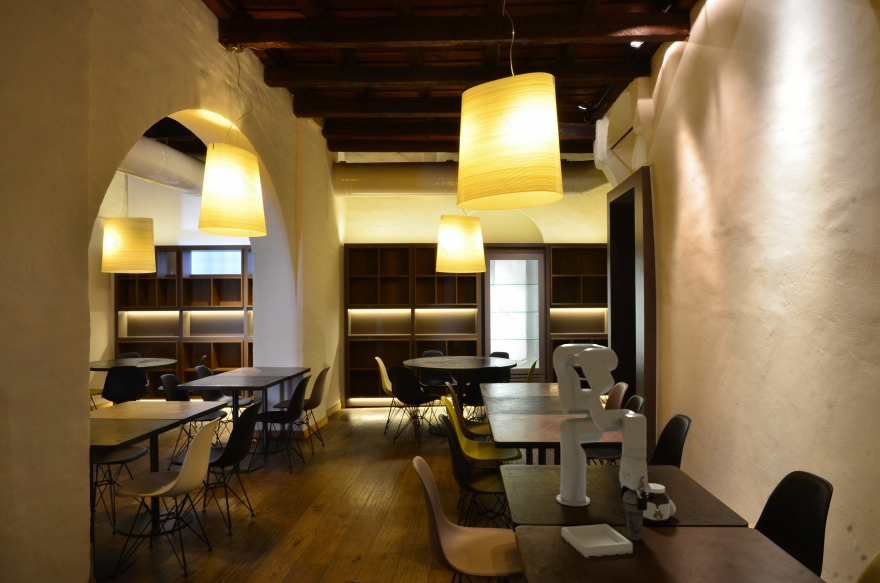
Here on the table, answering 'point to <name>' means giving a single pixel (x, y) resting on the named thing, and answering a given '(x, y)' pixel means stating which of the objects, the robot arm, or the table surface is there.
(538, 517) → the table surface
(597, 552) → the walled tray
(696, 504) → the table surface
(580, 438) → the robot arm
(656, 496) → the spread jar
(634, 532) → the beverage cup
